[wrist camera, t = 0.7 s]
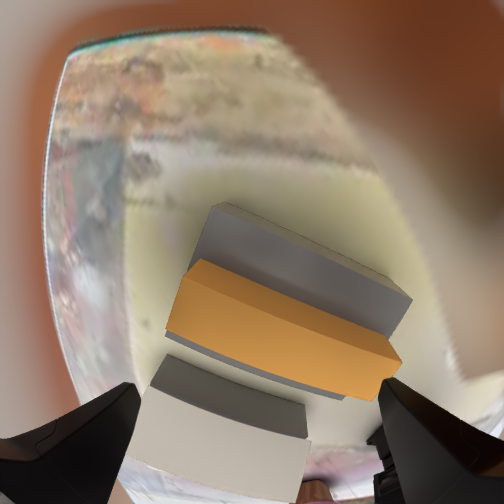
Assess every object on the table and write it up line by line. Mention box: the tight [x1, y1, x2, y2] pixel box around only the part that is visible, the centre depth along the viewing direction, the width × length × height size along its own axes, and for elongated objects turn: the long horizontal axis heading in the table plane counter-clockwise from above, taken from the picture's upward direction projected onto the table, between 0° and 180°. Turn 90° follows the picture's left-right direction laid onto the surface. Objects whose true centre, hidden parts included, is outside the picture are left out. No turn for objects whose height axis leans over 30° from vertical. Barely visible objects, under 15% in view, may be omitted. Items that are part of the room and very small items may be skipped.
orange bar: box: [165, 258, 403, 401], centre depth 16 cm, size 14×4×4 cm, turn 66°
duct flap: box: [126, 385, 311, 503], centre depth 17 cm, size 15×6×1 cm
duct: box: [150, 202, 413, 439], centre depth 21 cm, size 15×22×4 cm, turn 156°
